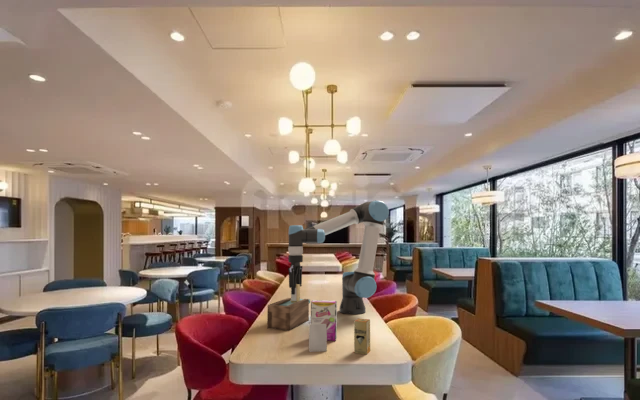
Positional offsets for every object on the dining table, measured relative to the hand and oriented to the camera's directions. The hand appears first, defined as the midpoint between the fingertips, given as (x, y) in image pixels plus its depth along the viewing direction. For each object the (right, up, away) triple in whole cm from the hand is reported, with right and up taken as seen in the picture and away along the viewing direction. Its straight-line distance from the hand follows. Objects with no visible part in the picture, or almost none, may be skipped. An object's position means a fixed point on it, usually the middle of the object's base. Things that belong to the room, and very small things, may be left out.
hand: (295, 299), depth 206 cm
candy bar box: (+14, -8, -36) cm, 39 cm away
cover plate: (0, -3, 0) cm, 3 cm away
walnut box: (-3, -10, -8) cm, 13 cm away
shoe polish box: (+29, -7, -53) cm, 61 cm away
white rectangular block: (+12, -7, -51) cm, 52 cm away
